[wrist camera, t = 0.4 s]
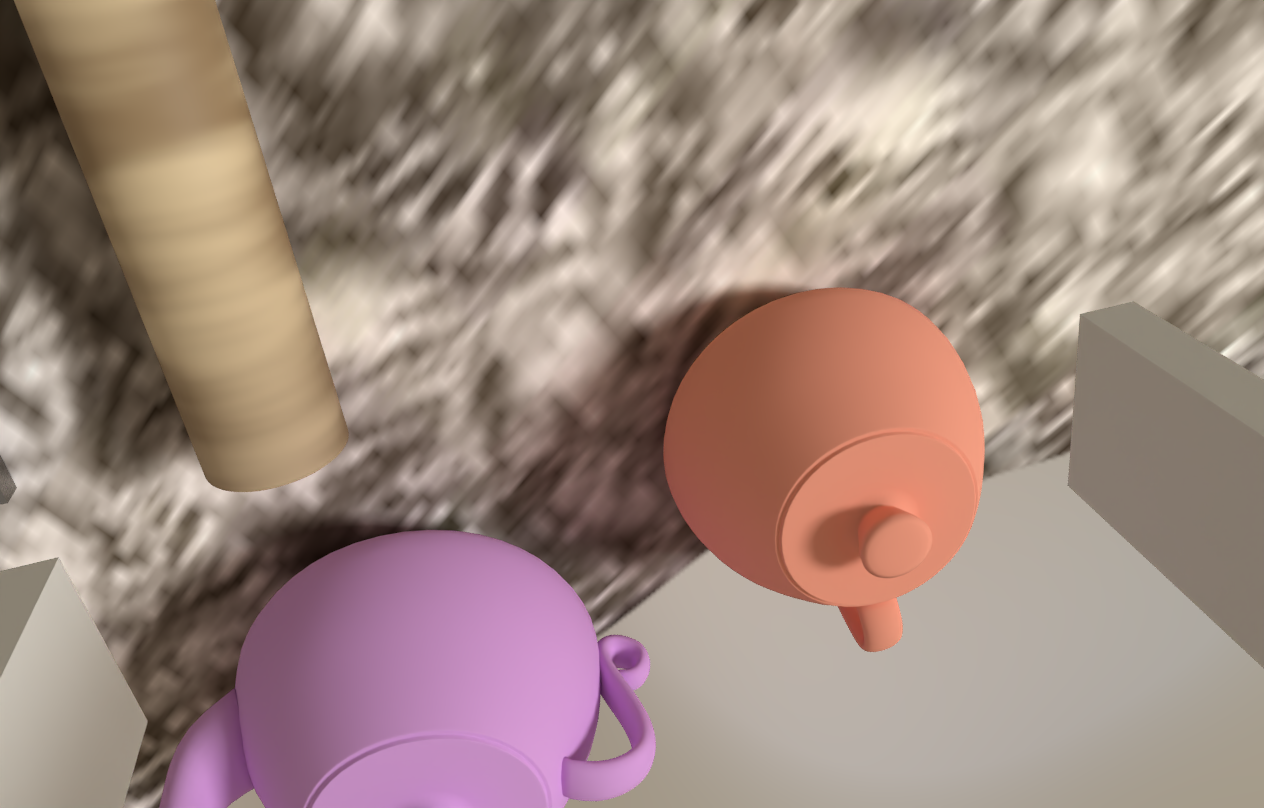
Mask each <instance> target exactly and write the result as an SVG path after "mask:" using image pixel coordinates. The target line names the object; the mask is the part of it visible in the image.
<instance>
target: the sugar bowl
mask: <svg viewBox="0 0 1264 808" xmlns="http://www.w3.org/2000/svg"><path fill="white" fill-rule="evenodd" d="M984 452H985V448H984V430H983V420H982V415H981V411H980V407H979V403H978V399H977V395H976V391H975V389H974V386H973V384H972V382H971V380H970V377H969V375H968V373H967V371H966V368H965V366H964V364H963V362H962V360H961V359H960V357H959V356H958V354H957V352H956V351H955V349H954V348H953V346H952V345H951V343H950V342H949V340H948V339H947V338H946V337H945V335H944V334H943V333H942V332H941V331H940V330H939V329H938V328H937V327H936V326H935V325H934V324H933V323H932V322H931V321H930V320H929V319H928V318H927V317H926V316H925V315H923V314H922V313H921V312H919V311H918V310H917V309H915V308H914V307H912V306H911V305H909V304H907V303H905V302H903V301H901V300H899V299H897V298H894V297H891V296H889V295H886V294H883V293H879V292H874V291H869V290H864V289H854V288H824V289H815V290H810V291H805V292H800V293H795V294H792V295H789V296H786V297H783V298H780V299H777V300H774V301H772V302H770V303H768V304H766V305H763V306H761V307H759V308H757V309H755V310H753V311H752V312H750V313H748V314H747V315H745V316H743V317H742V318H740V319H739V320H737V321H735V322H734V323H733V324H732V325H730V326H729V327H728V328H727V329H725V330H724V331H723V332H721V333H720V334H719V335H718V336H717V337H716V338H715V339H714V340H713V341H712V342H711V343H710V344H709V345H708V346H707V347H706V348H705V349H704V350H703V351H702V353H701V354H700V355H699V356H698V358H697V359H696V360H695V361H694V363H693V364H692V365H691V367H690V368H689V370H688V372H687V373H686V375H685V376H684V378H683V380H682V381H681V384H680V386H679V388H678V390H677V392H676V394H675V396H674V399H673V402H672V405H671V408H670V412H669V415H668V419H667V424H666V430H665V436H664V456H663V458H664V465H665V473H666V478H667V481H668V485H669V488H670V491H671V494H672V496H673V498H674V500H675V502H676V504H677V506H678V509H679V510H680V512H681V514H682V516H683V518H684V520H685V521H686V522H687V524H688V525H689V527H690V528H691V530H692V531H693V532H694V533H695V535H696V536H697V537H698V538H699V540H700V541H701V542H702V543H703V544H704V545H705V546H706V547H707V548H708V549H709V550H710V551H711V552H712V553H713V554H714V555H715V556H716V557H717V558H718V559H719V560H721V561H722V562H723V563H724V564H726V565H727V566H728V567H730V568H731V569H732V570H734V571H735V572H737V573H739V574H740V575H742V576H743V577H745V578H747V579H749V580H750V581H752V582H754V583H756V584H758V585H760V586H763V587H765V588H767V589H770V590H773V591H776V592H778V593H781V594H784V595H787V596H790V597H794V598H797V599H801V600H805V601H809V602H813V603H818V604H823V605H833V606H838V608H839V610H840V612H841V614H842V616H843V618H844V620H845V622H846V624H847V626H848V628H849V629H850V631H851V633H852V635H853V637H854V638H855V640H856V642H857V643H858V645H859V646H860V647H861V648H862V649H863V650H865V651H868V652H877V651H882V650H885V649H887V648H890V647H892V646H894V645H895V644H896V643H897V642H898V641H899V640H900V638H901V637H902V632H903V625H902V618H901V614H900V610H899V606H898V602H897V598H896V597H899V596H901V595H903V594H906V593H908V592H910V591H912V590H913V589H915V588H917V587H919V586H920V585H922V584H923V583H925V582H926V581H928V580H929V579H930V578H932V577H933V576H934V575H936V574H937V573H938V572H939V571H940V570H941V569H942V568H943V567H944V566H945V565H946V564H947V563H948V562H949V561H950V560H951V559H952V558H953V556H954V555H955V554H956V553H957V552H958V550H959V549H960V547H961V546H962V544H963V543H964V541H965V539H966V538H967V536H968V533H969V531H970V529H971V527H972V524H973V521H974V518H975V515H976V512H977V508H978V505H979V500H980V495H981V489H982V480H983V469H984Z"/></svg>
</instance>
